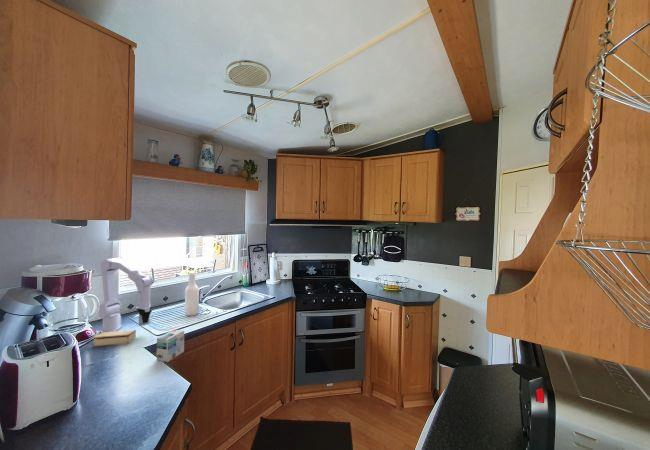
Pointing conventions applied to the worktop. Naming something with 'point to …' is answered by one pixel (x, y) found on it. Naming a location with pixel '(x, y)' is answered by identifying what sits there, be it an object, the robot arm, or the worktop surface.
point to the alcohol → (191, 296)
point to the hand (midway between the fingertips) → (144, 321)
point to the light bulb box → (170, 345)
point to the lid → (114, 333)
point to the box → (114, 340)
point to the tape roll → (142, 321)
